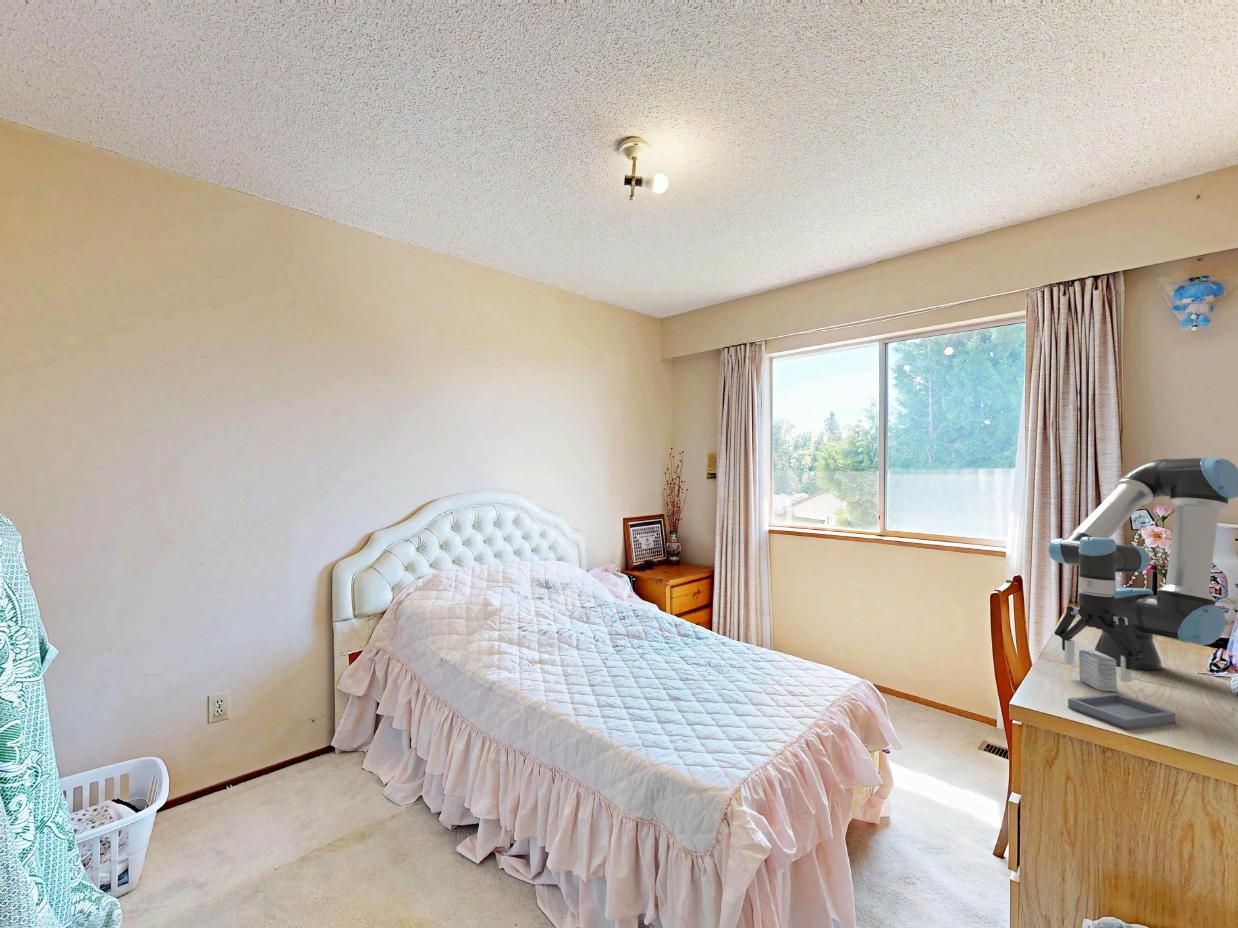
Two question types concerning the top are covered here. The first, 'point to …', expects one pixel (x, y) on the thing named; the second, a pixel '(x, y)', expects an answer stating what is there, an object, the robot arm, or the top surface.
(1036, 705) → the top surface
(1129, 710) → the tray
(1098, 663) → the medicine box
